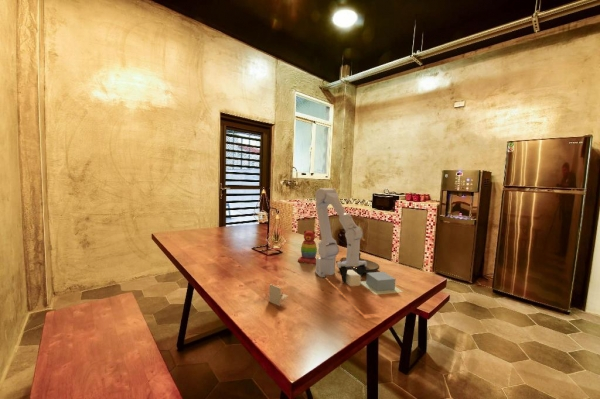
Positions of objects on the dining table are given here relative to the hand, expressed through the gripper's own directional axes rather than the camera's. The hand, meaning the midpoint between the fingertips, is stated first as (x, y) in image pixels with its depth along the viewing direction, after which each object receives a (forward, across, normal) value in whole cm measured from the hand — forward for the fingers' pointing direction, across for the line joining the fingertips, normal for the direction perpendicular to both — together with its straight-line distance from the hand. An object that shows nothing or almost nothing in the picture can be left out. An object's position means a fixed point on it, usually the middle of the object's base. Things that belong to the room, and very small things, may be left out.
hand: (351, 281), depth 121 cm
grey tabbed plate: (+2, -38, -10) cm, 39 cm away
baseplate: (+1, +11, -7) cm, 13 cm away
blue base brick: (0, +11, -7) cm, 13 cm away
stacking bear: (+2, -9, +36) cm, 37 cm away
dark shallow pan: (+2, +14, +17) cm, 22 cm away
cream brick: (+2, 0, 0) cm, 2 cm away
